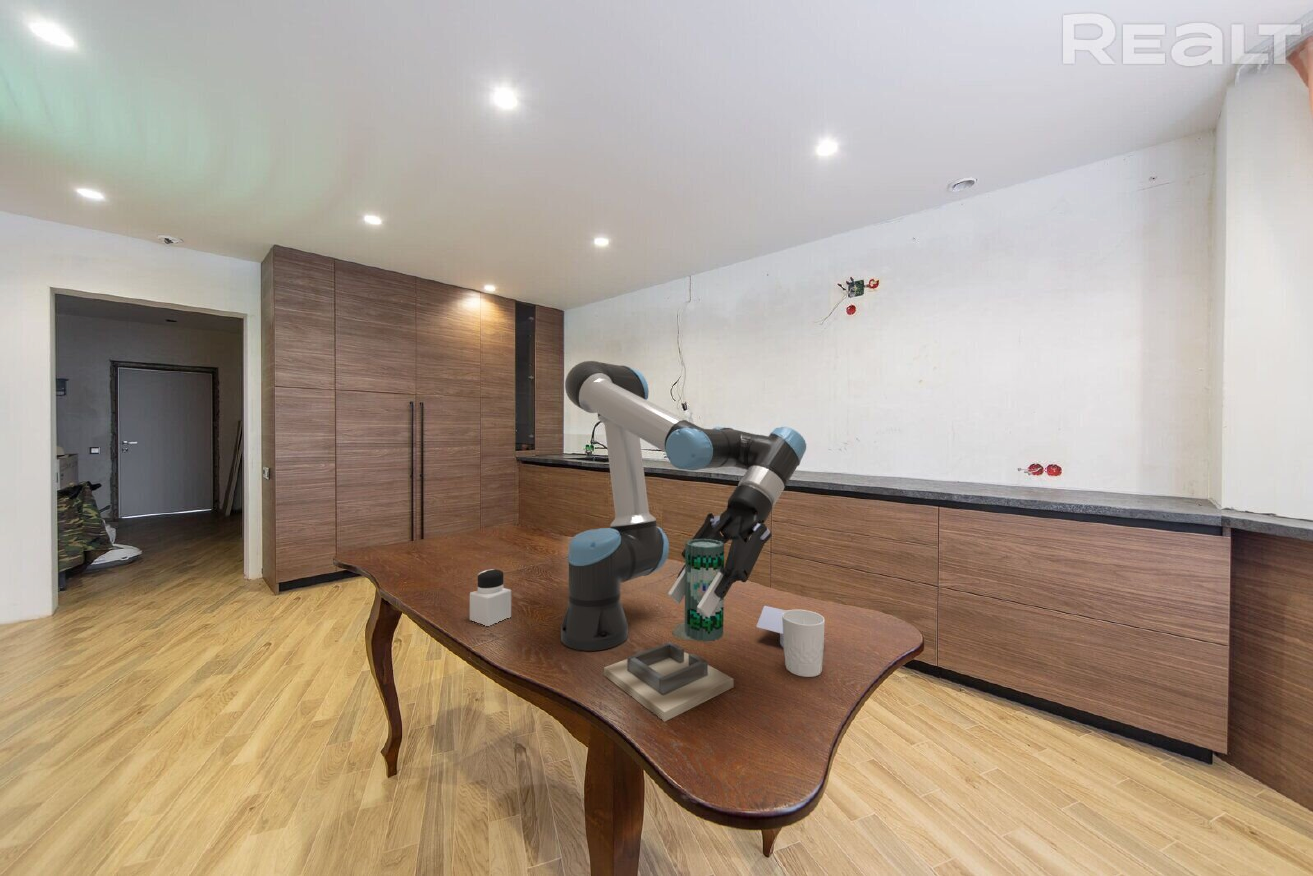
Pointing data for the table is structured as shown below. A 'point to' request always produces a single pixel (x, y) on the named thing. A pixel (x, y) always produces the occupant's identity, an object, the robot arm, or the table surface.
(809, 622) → the white cup
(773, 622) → the wedge on round base
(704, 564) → the can
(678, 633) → the soupspoon
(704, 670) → the board with grey rim
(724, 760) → the table surface
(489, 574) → the medicine bottle
